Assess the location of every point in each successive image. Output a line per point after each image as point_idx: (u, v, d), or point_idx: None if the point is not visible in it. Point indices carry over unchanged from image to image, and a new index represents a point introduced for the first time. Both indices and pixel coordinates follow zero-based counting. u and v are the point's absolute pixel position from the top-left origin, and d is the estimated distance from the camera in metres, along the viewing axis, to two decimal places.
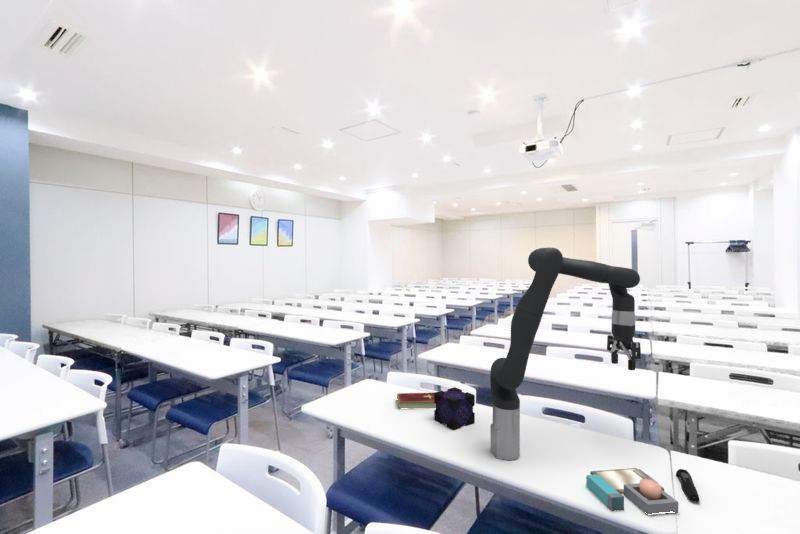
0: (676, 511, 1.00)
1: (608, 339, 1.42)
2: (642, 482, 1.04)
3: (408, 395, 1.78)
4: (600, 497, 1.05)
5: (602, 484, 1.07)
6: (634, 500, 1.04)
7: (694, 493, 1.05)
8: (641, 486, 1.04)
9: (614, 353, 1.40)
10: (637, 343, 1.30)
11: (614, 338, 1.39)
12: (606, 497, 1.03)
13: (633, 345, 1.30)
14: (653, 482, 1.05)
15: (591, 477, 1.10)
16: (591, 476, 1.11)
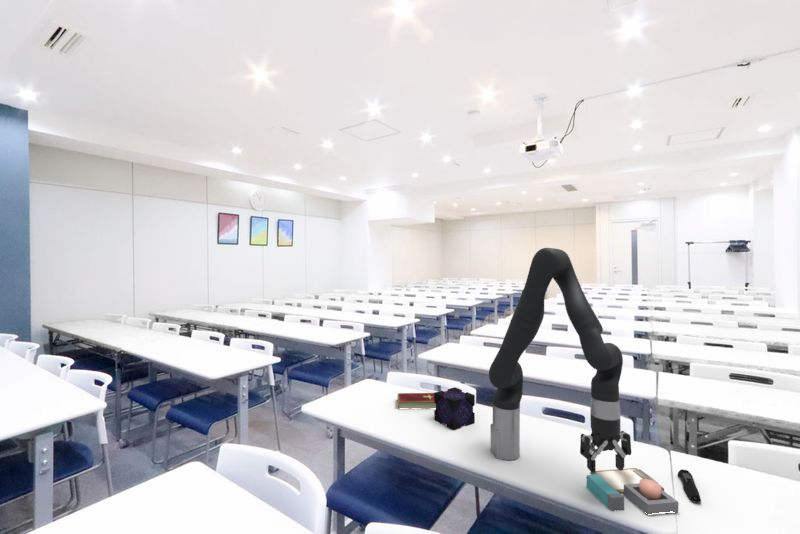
0: (676, 511, 1.00)
1: (587, 443, 1.04)
2: (642, 482, 1.04)
3: (408, 395, 1.78)
4: (600, 497, 1.05)
5: (602, 484, 1.07)
6: (634, 500, 1.04)
7: (695, 494, 1.04)
8: (641, 486, 1.04)
9: None
10: None
11: (597, 438, 1.05)
12: (606, 497, 1.03)
13: (629, 438, 1.06)
14: (653, 482, 1.05)
15: (591, 477, 1.10)
16: (591, 476, 1.11)
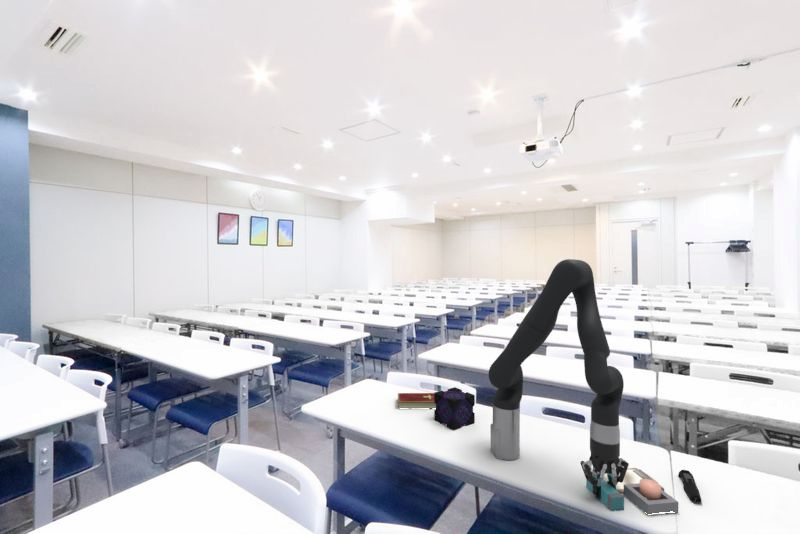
0: (676, 511, 1.00)
1: (588, 470, 1.05)
2: (642, 482, 1.04)
3: (408, 395, 1.78)
4: None
5: (601, 484, 1.07)
6: (634, 500, 1.04)
7: (696, 494, 1.04)
8: (641, 486, 1.04)
9: None
10: None
11: (596, 462, 1.05)
12: (606, 497, 1.03)
13: (626, 466, 1.06)
14: (653, 482, 1.05)
15: None
16: None
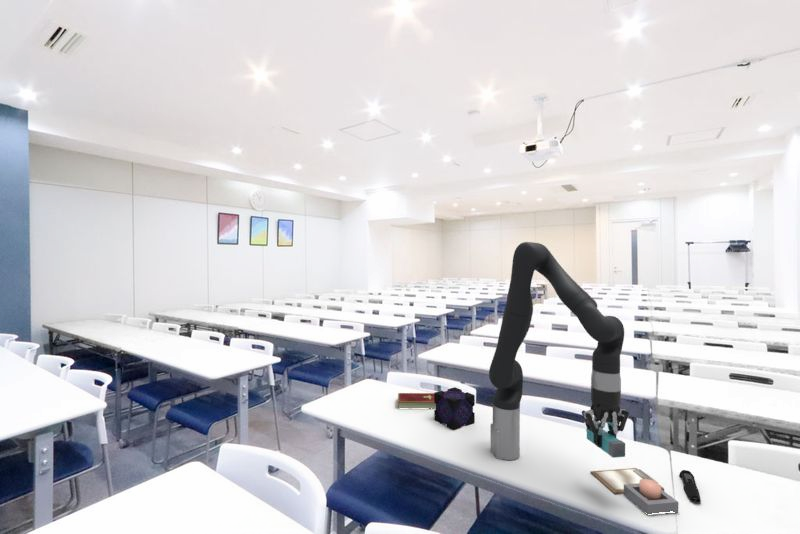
0: (676, 511, 1.00)
1: (590, 419, 1.04)
2: (642, 482, 1.04)
3: (409, 395, 1.78)
4: None
5: (602, 434, 1.07)
6: (634, 500, 1.04)
7: (695, 494, 1.04)
8: (641, 486, 1.04)
9: None
10: None
11: (597, 410, 1.05)
12: (607, 445, 1.03)
13: (627, 415, 1.06)
14: (653, 482, 1.05)
15: None
16: None
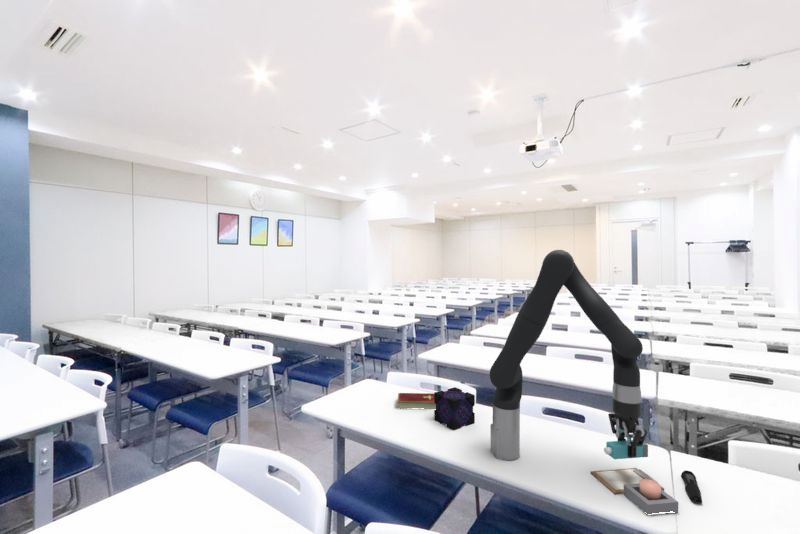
0: (676, 511, 1.00)
1: None
2: (642, 482, 1.04)
3: (409, 395, 1.78)
4: None
5: (626, 444, 1.14)
6: (634, 500, 1.04)
7: (696, 494, 1.04)
8: (641, 486, 1.04)
9: None
10: None
11: None
12: (640, 449, 1.13)
13: None
14: (653, 482, 1.05)
15: (616, 446, 1.13)
16: (614, 445, 1.13)
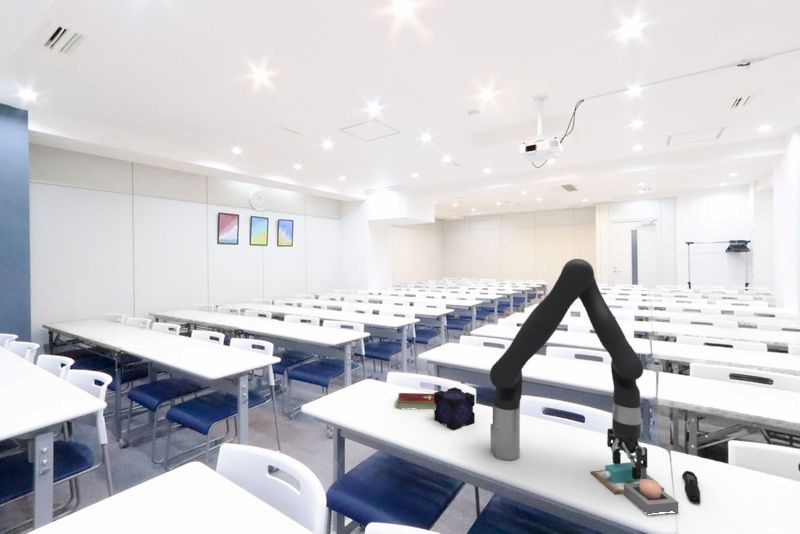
0: (676, 511, 1.00)
1: None
2: (642, 482, 1.04)
3: (409, 395, 1.79)
4: (632, 478, 1.13)
5: (625, 467, 1.14)
6: (634, 500, 1.04)
7: (694, 494, 1.04)
8: (641, 486, 1.04)
9: None
10: None
11: None
12: None
13: None
14: (653, 482, 1.05)
15: (615, 470, 1.13)
16: (613, 469, 1.13)
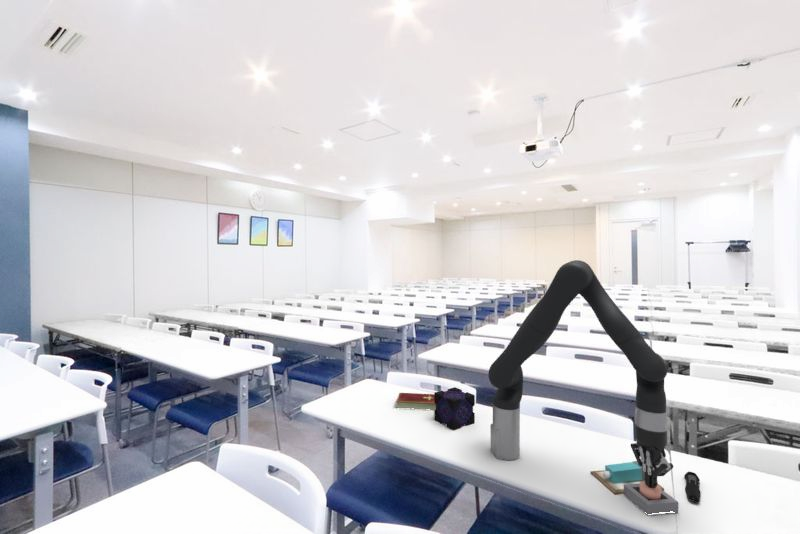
0: (676, 511, 1.00)
1: None
2: (642, 484, 1.04)
3: (409, 395, 1.79)
4: (632, 478, 1.13)
5: (625, 467, 1.14)
6: (634, 500, 1.04)
7: (693, 494, 1.04)
8: (641, 488, 1.04)
9: None
10: None
11: None
12: (639, 472, 1.13)
13: None
14: None
15: (615, 470, 1.13)
16: (613, 469, 1.13)
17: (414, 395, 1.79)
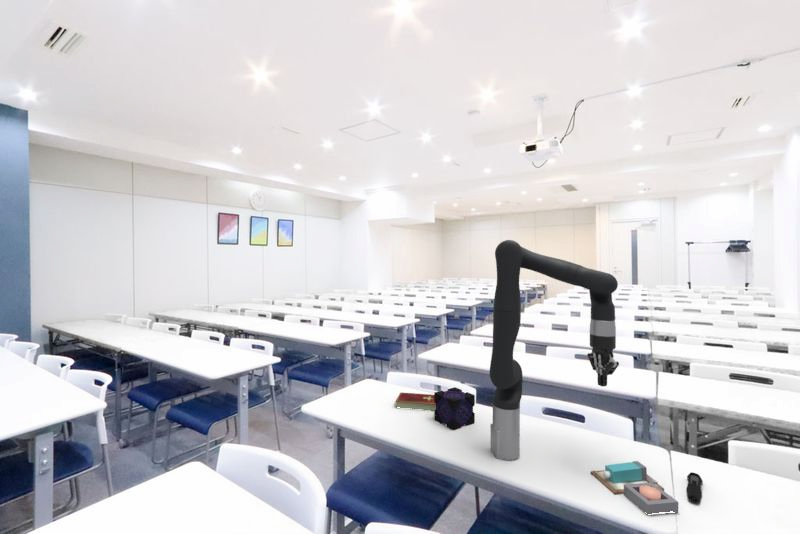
0: (676, 511, 1.00)
1: None
2: (642, 489, 1.05)
3: (409, 395, 1.79)
4: (632, 478, 1.13)
5: (625, 467, 1.14)
6: (634, 500, 1.04)
7: (693, 494, 1.04)
8: (641, 493, 1.04)
9: None
10: None
11: None
12: (639, 472, 1.13)
13: None
14: (653, 489, 1.05)
15: (615, 470, 1.13)
16: (613, 469, 1.13)
17: (414, 395, 1.79)
